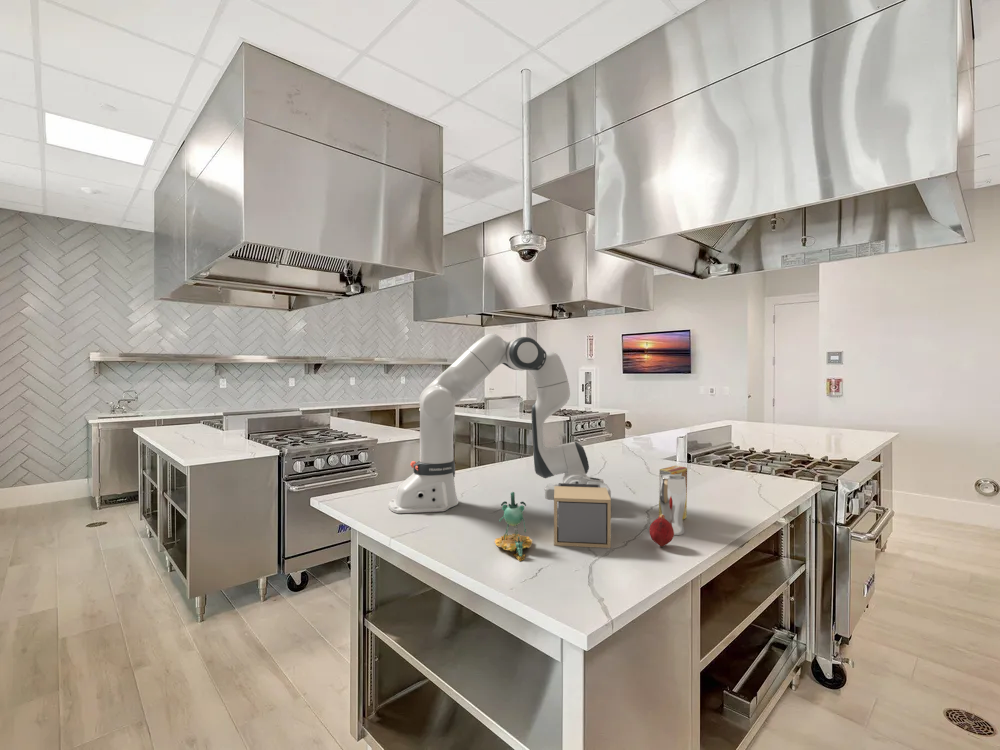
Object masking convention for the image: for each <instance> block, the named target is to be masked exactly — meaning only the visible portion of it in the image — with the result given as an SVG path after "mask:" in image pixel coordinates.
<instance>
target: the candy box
mask: <svg viewBox="0 0 1000 750" xmlns="http://www.w3.org/2000/svg"><path fill="white" fill-rule="evenodd" d="M663 474H674V475H680V476H684V477H685V482H686V501H685V507H684V512H683V520H685V519H687V517H688V516H687V511H688V509H687V505H688V503H687V502H688V497H687V496H688V467H687V466H681V465H672V466H668V467H664V468H661V469H659V476H658V477H659V478H658V479H659V481H658V483H659V482H660V475H663ZM661 514H662V511H661V505H660V499H659V498H658V517H659V516H660V515H661Z"/></svg>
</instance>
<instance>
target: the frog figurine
mask: <svg viewBox="0 0 1000 750" xmlns="http://www.w3.org/2000/svg"><path fill="white" fill-rule="evenodd" d="M515 494H516V493H515V492H514V491H512V492H510V503H508V502H507V501H503V502H502V503H501V504H500V506H501V510H502V511H503V515H502V517H501V518H499V522H502V520H503V519H504V521H505V523H506V524H507V526H506V529H505V533H504V534H503V535H501V536H500V537H498V538H495V540H494V541H493V542H494V543H495V545H496V546H497V547H498V548H502V549H503V550H505V551H510V552H515V551H516V553H513V556H514V557H515V558H516V559H517V560H518V561H519V562H521V561H524V560H525V559H526V557H525V556H526V554H524V553H523V550H524V549H526V548H528V549H529V548H531V547H532V544H533V539H532V538H530V536H528V535H527V536H526V535H521V534H520V533H518V531H516V533H511V534H508V531H509V527H510V526H511V527H518V525H520V524H521V522H522V521H523V528H524V533H526V532H527V528H526V525H525V524H526V523H525V519H524V514H523V513H524V511H525V507H527V503H526V502H524V501H520V504H521V505H519V506H518V503H519V502H518V503H516V501H515V496H516V495H515ZM507 504H508V505H507Z"/></svg>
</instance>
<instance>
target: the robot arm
mask: <svg viewBox="0 0 1000 750" xmlns="http://www.w3.org/2000/svg"><path fill="white" fill-rule="evenodd" d="M500 365H504V366H506V367H507V368H508V369H511V370H515V371H529V372H530V374H532V377H533V378H534V382H535V387H536V393H537V395H536V399H535V402H534V403H533V404H532V406H531V432H532V434H531V435H532V445H533V446H532V447H533V451H532V453H533V454H532V468H533V470H534V472H535V474H536V475H537V476H539V477H540V478H542V479H543V478H544V479H548V478H551V477H554V476H558V475H562V474H563V478H562V483H568V484H600V487H601V488H606V489H607V491H608V494H609V496H610V499H612V498H611V495H612V491H611V488H610V486H609V485H608V484H606V483H605V482H604V479H601V478H599V477H591V476H588V475H587V474H588V472H589V469H590V466H589V460H588V455H587V453H586V450H585V449H584V447H583V445H581V444H580V443H579V442H577V441H572V442H571V441H570V442H567V443H563V444H559V445H555V446H550V447H546V446H545V433H544V431H545V430H544V426H545V422H546V420H547V419H548V418H549V417H551V416H552V415H553V414H555V413H556V412H558V411H560V410H561V409H562V408H563V407H564V406H565V405H566V404H567V403H568V401H569V399H570V398H571V388H570V383H569V378H568V376H567V372H566V369H565V367H564V364H563V362H562V360H561V357H560V355H558V353H557V352H556V353H555V352H554V351H553V352H552V351H545V349H544V348H543V347H542V346H541V345H540V344H539V342H537V341H536V340H535V339H533V338H532V337H528V336H522V337H518V338H515V339H512V340H510V341H506V340H504V339H503V338H502V337H501V336H500V335H498V334H496V333H487V334H485V335H484V336H483V337H481V338H479V339H478V340H477V341H475V342H474V343H473V344H471V346H469V347H468V348H467V349H466V350H465V351H464V352H463V353H462V354H461V355H460V356H459V357H457V359H455V361H454V362H453V363H451V365H449V366H448V367H447V368H446V369H445V370H444V371H443V372H441V373H440V374H439V375H438V376H437V377H436V378H435V379H434V380H432V382H431V383H429V384H428V385H427V386H426V387H425V388H424V389H422V392H421V393H420V395H419V398H418V400H419V401H418V403H419V461H413V460H412V461H411V462H410V467H411V468H412V469H413V470H412V471H413V473H412V474H411V475H409V477H406V479H405V480H404V481H402V482H401V483H400V484H399V485H398V487H397V489H396V493H395V498H392V499H390V500H389V502H388V508H389V510H390V511H391V512H393V513H396V514H412V513H413V514H414V513H433V512H434V513H435V512H437V513H438V512H445V511H447V510H449V509H450V508H453V507H456V506H457V505H458V504H459V500H458V499H459V498H458V495H457V491H456V485H455V477H456V475H455V474H456V464H455V462H456V461H455V460H454V433H455V418H456V417H455V416H456V405H457V404H458V403H459V402H460V401H461V400H463V398H465V396H467V395H469V394H470V393H471V392H472V391H473V390H475V389H476V388H477V386H479V385H480V384H481V383H482V382H483V381H484V380H485V379H486V378H487V377H488V376H489V375H490V374H491V373H492V372H493V371H494V370H495V369H496V368H497V367H498V366H500ZM554 486H559V483H549V484H547V485H546V486H544V499H545V500H549V501H554Z"/></svg>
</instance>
